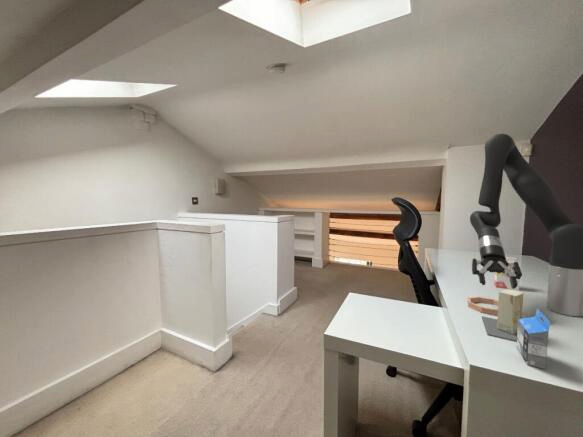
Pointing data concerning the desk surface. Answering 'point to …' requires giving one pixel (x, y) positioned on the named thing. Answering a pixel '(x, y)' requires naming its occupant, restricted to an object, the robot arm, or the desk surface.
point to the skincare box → (509, 310)
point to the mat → (497, 330)
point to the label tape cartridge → (533, 340)
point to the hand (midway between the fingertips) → (498, 285)
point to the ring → (479, 308)
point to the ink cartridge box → (503, 280)
